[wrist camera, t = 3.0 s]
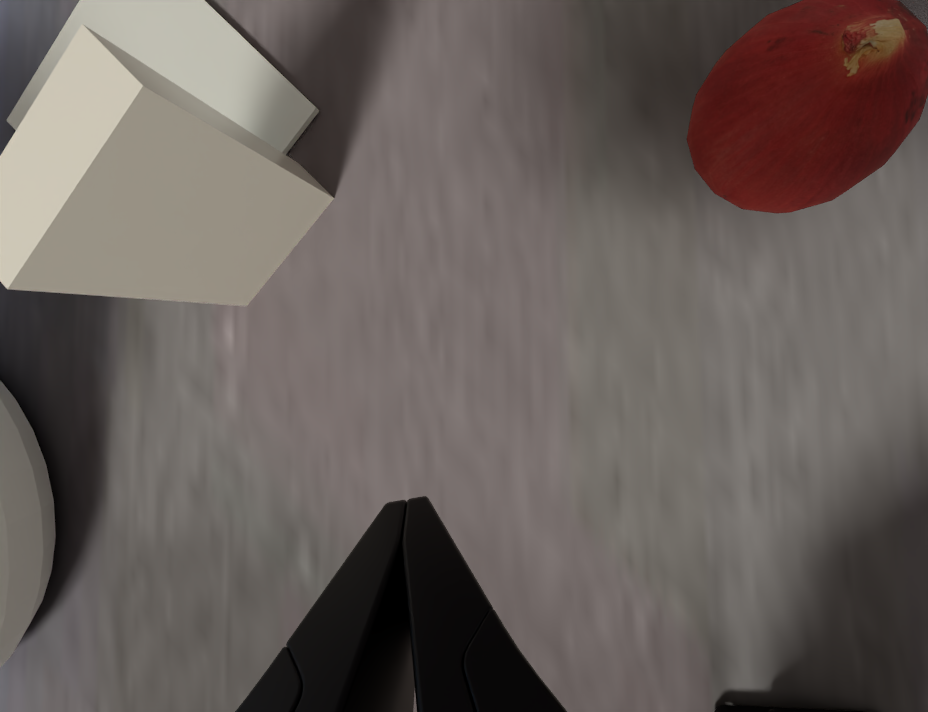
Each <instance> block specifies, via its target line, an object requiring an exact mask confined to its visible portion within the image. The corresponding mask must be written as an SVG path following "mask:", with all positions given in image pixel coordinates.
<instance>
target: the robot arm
mask: <svg viewBox="0 0 928 712" xmlns="http://www.w3.org/2000/svg"><path fill="white" fill-rule="evenodd" d="M286 645H287V647H284V648H282V650H281V651H280V653H279V654H278V655H277V657H276V658H275V660H274V661H273V663H272V664H271V665H270V667H269V668H268V669H267V671H266V672H265V673H264V675H263V676H262V677H261V679H260V680H259V682H258V683H257V684H256V686H255V687H254V688H253V690H252V691H251V692H250V694H249V695H248V696H247V698H246V699H245V700H244V701H243V703H242V704H241V705H240V706H239V708H238V709H237V710H236V711H235V712H413V705H414V690H415V693H416V704H417V712H567V711H566V710H565V708H564V707H563V706H562V705H561V703H560V702H559V701H558V700H557V698H556V697H555V696H554V695H553V693H552V692H551V691H550V690H549V688H548V687H547V686H546V685H545V683H544V682H543V681H542V680H541V678H540V677H539V676H538V675H537V673H536V672H535V670H534V669H533V668H532V666H531V665H530V664H529V662H528V661H527V660H526V658H525V657H524V656H523V654H522V653H521V652H520V650H519V649H518V647H517V646H516V644H515V642H514V641H513V639H512V638H511V636H510V635H509V633H508V632H507V630H506V628H505V627H504V625H503V624H502V622H501V620H500V619H499V617H498V615H497V613H496V612H495V610H493V607H492V605H491V604H490V602H489V600H488V599H487V597H486V595H485V594H484V592H483V590H482V588H481V587H480V585H479V583H478V582H477V580H476V578H475V577H474V575H473V573H472V572H471V570H470V568H469V566H468V565H467V563H466V561H465V560H464V558H463V556H462V555H461V553H460V551H459V550H458V548H457V546H456V544H455V543H454V541H453V539H452V538H451V536H450V534H449V533H448V531H447V529H446V527H445V526H444V524H443V522H442V521H441V519H440V517H439V516H438V514H437V512H436V511H435V509H434V507H433V505H432V504H431V502H430V500H429V499H428V498H427V497H426V496H423V497H417V498H411V499H409V500H408V501H407V502H406V501H405V500H400V501H394V502H389V503H387V504H385V506H384V507H383V508H382V510H381V511H380V513H379V514H378V515H377V517H376V518H375V520H374V521H373V522H372V524H371V525H370V527H369V528H368V529H367V531H366V532H365V534H364V535H363V536H362V538H361V539H360V541H359V542H358V543H357V545H356V546H355V548H354V549H353V550H352V552H351V553H350V555H349V556H348V557H347V559H346V560H345V562H344V563H343V564H342V566H341V567H340V569H339V570H338V572H337V573H336V574H335V576H334V577H333V579H332V580H331V581H330V583H329V584H328V586H327V587H326V588H325V590H324V591H323V593H322V594H321V595H320V597H319V598H318V600H317V601H316V602H315V604H314V605H313V607H312V608H311V609H310V611H309V612H308V614H307V615H306V616H305V618H304V619H303V621H302V622H301V623H300V625H299V626H298V628H297V629H296V631H295V632H294V633H293V635H292V636H291V638H290V639H289V640H288V642H287V644H286ZM715 712H861V711H839V710H817V709H796V708H774V707H753V706H731V705H724V706H720V707H718V708H717V709H716V710H715Z"/></svg>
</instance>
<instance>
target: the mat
mask: <svg viewBox="0 0 928 712" xmlns="http://www.w3.org/2000/svg"><path fill="white" fill-rule="evenodd" d="M82 24H83V25H85V26H86V27H88V28H89V29H91V30H92V31H94V32H95V33H97V34H99V35H100V36H102V37H103V38H105V39H106V40H108V41H109V42H111V43H113V44H114V45H116V46H117V47H119V48H120V49H122V50H123V51H125V52H127V53H128V54H130V55H131V56H133V57H134V58H136V59H137V60H139V61H140V62H142V63H144V64H145V65H147V66H148V67H150V68H151V69H153V70H154V71H156V72H158V73H159V74H161V75H162V76H164V77H165V78H167V79H168V80H170V81H171V82H173V83H175V84H176V85H178V86H179V87H181V88H182V89H184V90H185V91H187V92H189V93H190V94H192V95H193V96H195V97H196V98H198V99H199V100H201V101H203V102H204V103H206V104H207V105H209V106H210V107H212V108H213V109H215V110H216V111H218V112H220V113H221V114H223V115H224V116H226V117H227V118H229V119H230V120H232V121H234V122H235V123H237V124H238V125H240V126H241V127H243V128H244V129H246V130H248V131H249V132H251V133H252V134H254V135H255V136H257V137H258V138H260V139H261V140H263V141H265V142H266V143H268V144H269V145H271V146H272V147H274V148H275V149H277V150H279V151H280V152H282V153H283V154H285V155H286V154H287V153H288V151H289V150H290V149H291V147H292V146H293V145H294V144H295V142H296V141H297V140H298V138H299V137H300V136H301V134H302V133H303V132H304V131H305V129H306V128H307V127H308V125H309V124H310V123H311V121H312V120H313V119H314V117H315V116H316V115H317V114H318V112H319V110H318V109H317V108H316V107H315V106H314V105H313V104H312V103H311V102H310V101H309V100H308V99H307V98H306V97H305V96H304V95H303V94H302V93H300V92H299V91H298V90H297V89H296V88H295V87H294V86H293V85H292V84H291V83H290V82H289V81H288V80H287V79H286V78H285V77H284V76H283V75H282V74H281V73H280V72H279V71H278V70H277V69H276V68H274V67H273V66H272V65H271V64H270V63H269V62H268V61H267V60H266V59H265V58H264V57H263V56H262V55H261V54H260V53H259V52H258V51H257V50H256V49H255V48H254V47H253V46H252V45H251V44H249V43H248V42H247V41H246V40H245V39H244V38H243V37H242V36H241V35H240V34H239V33H238V32H237V31H236V30H235V29H234V28H233V27H232V26H231V25H230V24H229V23H228V22H227V21H226V20H225V19H223V18H222V17H221V16H220V15H219V14H218V13H217V12H216V11H215V10H214V9H213V8H212V7H211V6H210V5H209V4H208V3H207V2H206V1H205V0H80V1H79V2H78V4H77V6H76V7H75V9H74V10H73V12H72V14H71V15H70V17H69V19H68V20H67V22H66V24H65V25H64V27H63V29H62V30H61V32H60V33H59V35H58V37H57V38H56V40H55V42H54V43H53V45H52V47H51V48H50V50H49V51H48V53H47V55H46V56H45V58H44V60H43V61H42V63H41V65H40V66H39V68H38V69H37V71H36V73H35V74H34V76H33V78H32V79H31V81H30V83H29V84H28V86H27V88H26V89H25V91H24V92H23V94H22V96H21V97H20V99H19V101H18V102H17V104H16V106H15V107H14V109H13V110H12V112H11V114H10V115H9V117H8V119H7V120H6V121H7V122H8V123H9V124H10V125H11V126H12V127H13V128H14V129H15V130H17V128H18V127H19V125H20V123H21V122H22V120H23V119H24V117H25V115H26V114H27V112H28V110H29V109H30V107H31V106H32V104H33V102H34V101H35V99H36V98H37V96H38V94H39V93H40V91H41V89H42V88H43V86H44V85H45V83H46V81H47V80H48V78H49V76H50V75H51V73H52V72H53V70H54V68H55V67H56V65H57V64H58V62H59V60H60V59H61V57H62V55H63V54H64V52H65V51H66V49H67V47H68V46H69V44H70V43H71V41H72V39H73V38H74V36H75V34H76V33H77V31H78V30H79V28H80V26H81V25H82Z"/></svg>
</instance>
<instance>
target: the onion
mask: <svg viewBox="0 0 928 712" xmlns="http://www.w3.org/2000/svg"><path fill="white" fill-rule="evenodd" d="M927 95H928V33H927V28H926V26H925V25H924V24H923V23H922V22H921V21H920V20H919V19H918V18H917V17H916V16H914V15H913V14H912V13H911V12H910V11H909V10H908V9H907V8H906V7H905V6H904V5H903V4H902V3H901V2H900V1H897V0H803V1H800V2H798V3H795V4H793V5H791V6H788V7H786V8H783V9H781V10H778V11H776V12H774V13H771V14H769V15H767V16H766V17H765V18H763V19H762V20H761V21H760V22H758V23H757V24H756V25H755V26H754V27H752V28H751V29H750V30H749V31H748V32H747V33H746V34H744V35H743V36H742V37H741V38H740V39H739V40H738V41H736V42H735V43H734V44H733V45H732V46H731V47H730V48H729V49H727V50H726V52H725V53H724V54H723V55H722V56H721V58H720V59H719V60H718V61H717V63H716V64H715V65H714V67H713V69H712V70H711V72H710V73H709V75H708V77H707V78H706V80H705V82H704V83H703V85H702V86H701V88H700V90H699V91H698V93H697V94H696V98H695V101H694V105H693V108H692V114H691V119H690V124H689V130H688V135H687V142H688V146H689V149H690V153H691V157H692V160H693V164H694V168H695V170H696V171H697V172H698V173H699V175H700V176H701V177H702V179H703V180H704V181H705V182H706V184H707V185H708V186H709V187H710V189H711V190H712V191H713V192H714V193H715V194H717V195H718V196H720V197H722V198H724V199H725V200H727V201H729V202H731V203H732V204H734V205H736V206H738V207H739V208H741V209H746V210H754V211H762V212H770V213H787V212H793V211H797V210H800V209H804V208H807V207H811V206H814V205H818V204H821V203H825V202H828V201H832V200H833V199H835V198H836V197H838V196H839V195H841V194H843V193H844V192H846V191H847V190H849V189H850V188H852V187H853V186H854V185H856V184H857V183H859V182H860V181H862V180H863V179H864V178H866V177H867V176H869V175H870V174H872V173H873V172H875V171H876V170H877V169H879V168H880V167H882V166H883V165H884V164H885V163H886V162H887V161H888V159H889V158H890V157H891V156H892V155H893V154H894V153H895V151H896V150H897V149H898V147H899V146H900V145H901V143H902V142H903V141H904V139H905V138H906V137H907V135H908V134H909V133H910V132H911V130H912V129H913V128H914V126H915V125H916V123H917V122H918V121H919V119H920V117H921V114H922V111H923V108H924V105H925V102H926V98H927Z"/></svg>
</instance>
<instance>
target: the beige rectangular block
mask: <svg viewBox="0 0 928 712" xmlns="http://www.w3.org/2000/svg"><path fill="white" fill-rule="evenodd" d="M333 199H334V198H333V197H332V196H331V195H330V194H329V193H328V192H327V191H326V190H325V189H324V188H323V187H322V186H321V185H320V184H319V183H318V182H317V181H316V180H315V179H314V178H313V177H312V176H311V175H310V174H309V173H308V172H307V171H306V170H305V169H304V168H303V167H302V166H301V165H300V164H299V163H297V162H296V161H294V160H292V159H291V158H289V157H288V156H286V155H285V154H283V153H282V152H280V151H279V150H277V149H275V148H274V147H272V146H271V145H269V144H268V143H266V142H265V141H263V140H261V139H260V138H258V137H257V136H255V135H254V134H252V133H251V132H249V131H248V130H246V129H244V128H243V127H241V126H240V125H238V124H237V123H235V122H234V121H232V120H230V119H229V118H227V117H226V116H224V115H223V114H221V113H220V112H218V111H216V110H215V109H213V108H212V107H210V106H209V105H207V104H206V103H204V102H203V101H201V100H199V99H198V98H196V97H195V96H193V95H192V94H190V93H189V92H187V91H185V90H184V89H182V88H181V87H179V86H178V85H176V84H175V83H173V82H171V81H170V80H168V79H167V78H165V77H164V76H162V75H161V74H159V73H158V72H156V71H154V70H153V69H151V68H150V67H148V66H147V65H145V64H144V63H142V62H140V61H139V60H137V59H136V58H134V57H133V56H131V55H130V54H128V53H127V52H125V51H123V50H122V49H120V48H119V47H117V46H116V45H114V44H113V43H111V42H109V41H108V40H106V39H105V38H103V37H102V36H100V35H99V34H97V33H95V32H94V31H92V30H91V29H89V28H88V27H86V26H85V25H83V24H82V25H81V26H80V28H79V30H78V31H77V33H76V34H75V36H74V38H73V39H72V41H71V43H70V44H69V46H68V47H67V49H66V51H65V52H64V54H63V55H62V57H61V59H60V60H59V62H58V64H57V65H56V67H55V68H54V70H53V72H52V73H51V75H50V76H49V78H48V80H47V81H46V83H45V85H44V86H43V88H42V89H41V91H40V93H39V94H38V96H37V98H36V99H35V101H34V102H33V104H32V106H31V107H30V109H29V110H28V112H27V114H26V115H25V117H24V119H23V120H22V122H21V123H20V125H19V127H18V128H17V130H16V131H15V133H14V135H13V136H12V138H11V140H10V141H9V143H8V144H7V146H6V148H5V149H4V151H3V153H2V154H1V156H0V282H1V283H2V284H3V285H4V286H5V287H6V288H7V289H11V290H25V291H39V292H53V293H67V294H81V295H95V296H109V297H123V298H138V299H152V300H166V301H180V302H194V303H208V304H222V305H236V306H248V304H249V303H250V302H251V301H252V299H253V298H254V297H255V296H256V294H257V293H258V292H259V291H260V289H261V288H262V287H263V286H264V285H265V283H266V282H267V281H268V280H269V278H270V277H271V276H272V275H273V273H274V272H275V271H276V270H277V268H278V267H279V266H280V265H281V264H282V262H283V261H284V260H285V259H286V257H287V256H288V255H289V254H290V252H291V251H292V250H293V249H294V247H295V246H296V245H297V244H298V243H299V241H300V240H301V239H302V238H303V236H304V235H305V234H306V233H307V231H308V230H309V229H310V228H311V226H312V225H313V224H314V223H315V222H316V220H317V219H318V218H319V217H320V215H321V214H322V213H323V212H324V210H325V209H326V208H327V207H328V205H329V204H330V203H331V202H332V201H333Z"/></svg>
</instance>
